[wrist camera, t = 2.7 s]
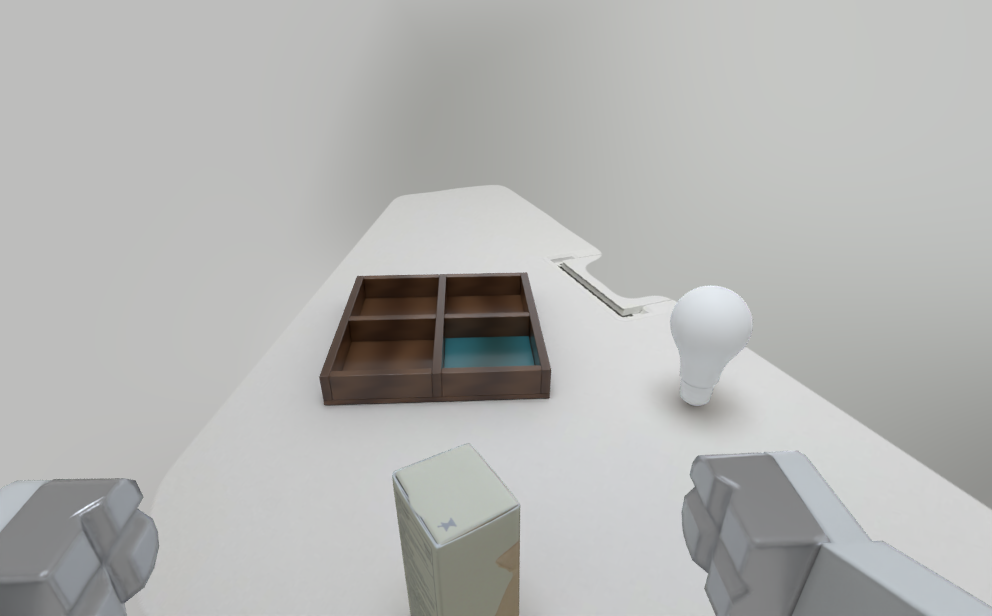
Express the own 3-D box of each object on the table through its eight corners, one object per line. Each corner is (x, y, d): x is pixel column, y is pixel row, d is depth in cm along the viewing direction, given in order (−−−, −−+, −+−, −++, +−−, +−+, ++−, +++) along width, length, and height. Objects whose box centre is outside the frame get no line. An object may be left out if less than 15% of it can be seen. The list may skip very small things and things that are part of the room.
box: (520, 656, 29) (527, 509, 24) (447, 702, 27) (437, 553, 22) (473, 578, 33) (469, 437, 28) (406, 613, 31) (388, 469, 26)
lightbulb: (643, 388, 50) (661, 277, 45) (702, 377, 51) (726, 268, 46) (682, 432, 45) (707, 313, 39) (746, 418, 46) (779, 302, 41)
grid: (324, 405, 48) (319, 376, 46) (359, 299, 65) (356, 275, 63) (549, 398, 49) (551, 370, 47) (526, 295, 66) (527, 272, 64)
